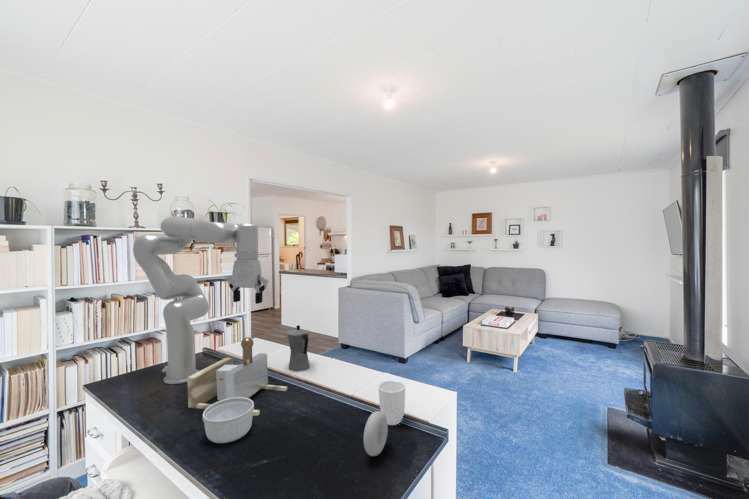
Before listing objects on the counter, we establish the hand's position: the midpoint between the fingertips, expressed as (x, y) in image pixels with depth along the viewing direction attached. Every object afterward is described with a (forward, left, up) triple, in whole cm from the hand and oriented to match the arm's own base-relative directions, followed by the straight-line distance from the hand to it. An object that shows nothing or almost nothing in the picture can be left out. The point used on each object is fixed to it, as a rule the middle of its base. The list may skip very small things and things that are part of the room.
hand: (247, 302), depth 122 cm
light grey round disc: (+56, -28, -32) cm, 70 cm away
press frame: (+4, -10, -31) cm, 33 cm away
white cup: (+57, -12, -32) cm, 66 cm away
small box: (0, -10, -32) cm, 33 cm away
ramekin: (+13, -28, -32) cm, 44 cm away
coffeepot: (+11, +19, -32) cm, 38 cm away
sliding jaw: (+7, -10, -30) cm, 32 cm away
